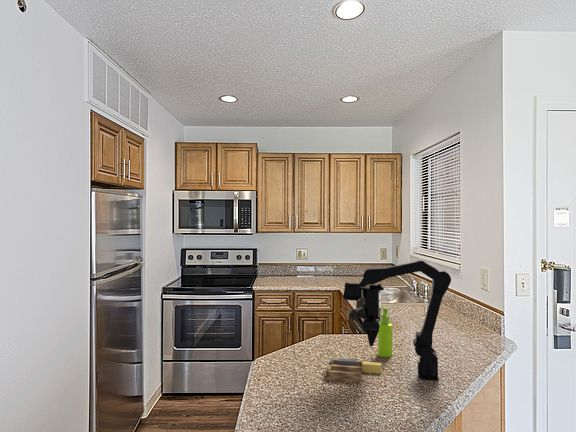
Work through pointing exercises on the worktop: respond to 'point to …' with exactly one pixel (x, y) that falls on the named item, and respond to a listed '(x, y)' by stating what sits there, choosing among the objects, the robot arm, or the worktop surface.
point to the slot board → (343, 372)
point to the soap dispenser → (385, 335)
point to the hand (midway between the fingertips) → (371, 342)
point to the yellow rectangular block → (372, 367)
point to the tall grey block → (347, 362)
